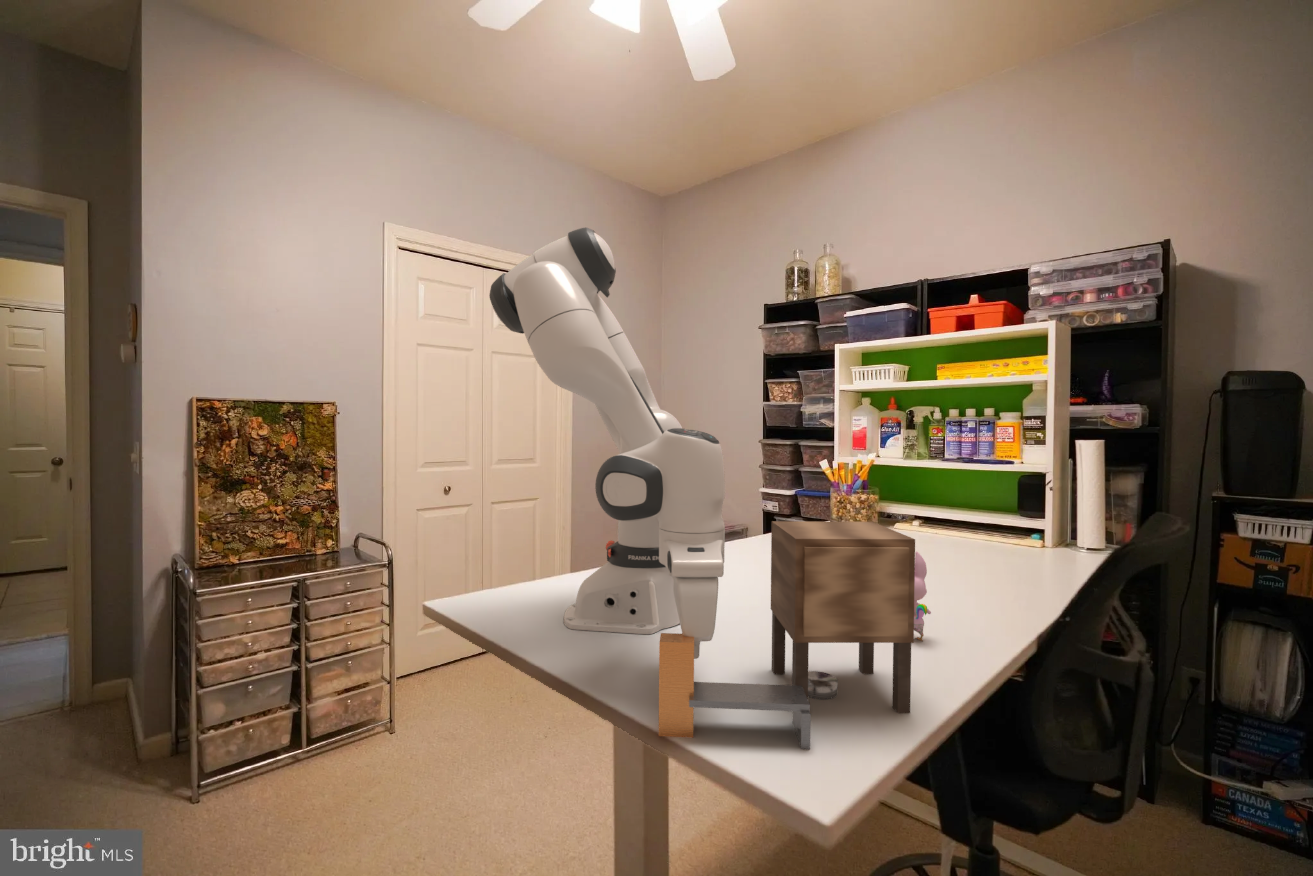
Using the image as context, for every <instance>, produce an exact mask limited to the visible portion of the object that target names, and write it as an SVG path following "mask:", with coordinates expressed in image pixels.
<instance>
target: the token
mask: <svg viewBox="0 0 1313 876" xmlns="http://www.w3.org/2000/svg"><path fill="white" fill-rule="evenodd" d="M838 680H839V679H837V677H836V676H834V675H832V674H830V673H827V672H823V671H818V670H817V671H816V670H815V671H814V670H813V671H812V670H811V671H810V670H808V698H810V699H814V700H823V701H824V700H833V699H835V698H836V697H837V696H838Z"/></svg>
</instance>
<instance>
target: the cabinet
mask: <svg viewBox="0 0 1313 876" xmlns="http://www.w3.org/2000/svg"><path fill="white" fill-rule="evenodd" d="M770 538H771V541H770V542H771V543H770V544H771V547H770V548H771V552H770V555H771V556H770V610H771V672H772V673H773V674H774V675H785V674H786V633H787V634H788V635H789V637H790V638H791V640H792V651H791V652H792V660H791V665H792V667H791V668H792V671H791V676H792V677H791V678H792V679H791V685H796V686H802V687H803V689H804V692H805V694H806V697H807V699H808V700H809V697H808V672H809V649H810V648H809V647H810V646H809V644H811V643H812V644H813V643H814V644H817V643H818V644H819V643H820V644H822V643H823V644H824V643H825V644H827V643H828V644H829V643H830V644H831V643H833V644H845V643H846V644H849V643H850V644H851V643H852V644H853V643H854V644H855V643H857V644H858V671H860V673H861V674H862V675H874V665H875V663H874V662H875V661H874V660H875V643H876V644H881V643H883V644H889V643H891V644H892V649H893V651H892V700H891V702H892V704H891V705H892V709H893V710H894V711H895V712H896V713H897V714H911V692H912V691H911V688H912V686H911V684H912V683H911V681H912V679H911V678H912V675H911V674H912V673H911V672H912V643H914V642H915V641H914V639H915V638H914V637H915V636H914V635H915V634H914V633H915V631H914V586H915V554H916V539H915V538H913V537H911V536H908V535H905V534H903V533H900V532H898V531H896V530H893V529H891V528H889V527H886V526H884V525H882V524H879V523H877V522H874V521H794V520H793V521H789V520H787V521H784V520H783V521H779V520H777V521H773V520H772V521H771V537H770Z"/></svg>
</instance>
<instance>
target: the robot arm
mask: <svg viewBox="0 0 1313 876" xmlns="http://www.w3.org/2000/svg"><path fill="white" fill-rule="evenodd" d="M533 252H534V253H532V254H531V255H529V256H528V257H526V258H525V259H524V260H522V261H520V262H519V263H517V264H516V265H515V266H513V267H512V268H511V269H510V270H508V272H506V273H501V274H500V275H499V276H498V277H497V278H496V279H495V280H494V281H493V282H492V284H491V286H490V290H489V300H490V303H491V305H492V306H491V307H492V309H493V312H494V313H495V315H496V317H497V318H498V319H499V321H501V323H502V324H503V325H504V326H505V327H506V328H507V329H508V330H509V331H511V332H514V333H517V334H524V336H525V338H526V341H527V343H528V346H529V348H530V350H531V352H532V355H533V356H534V358H535V361H536V362H537V365H538V366H539V367H540V369H541V370H542V372H543V373H544V374H545V376H547V378H548V380H549V381H551V382H552V383H553V384H554V385H557V386H558V387H560V388H561V389H564V390H567V391H568V392H571V393H573V394H574V395H578V396H580V397H582V398H584V399H586V400H588V401H589V402H591V403H592V404H594V406H595V408H596V409H597V411H598V413H599V415H600V418H601V420H602V421H603V424H604V425H605V427H606V429H607V432H608V433H609V436H610V437H611V439H612V441H613V443H614V445H615V447H616V449H617V451H618V453H619V454H615V455H613V456H611V457H610V458H607V459H606V460H605V461H604V462H603V463H602V464H601V466H600V467H599V469H598V472H597V473H596V478H595V488H594V489H595V496H596V498H597V501H598V504H599V505H600V507H601V509H602V510H603V511H604V513H605V514H606V515H607V516H609V517H610V518H612V519H614V520H617V524H618V525H617V527H618V528H617V541H615V540H613V539H612V540H611V539H610V540H608V541H607V543H606V544H605V549H606V561H607V562H606V563H604V564H603V565H602V566H600V568H598V569H597V570H595V571H594V572H593V573H591V574H590V575H589V576H588V577H587V578H585V579H584V580H583V581H582V583H581V584H580V587H579V589H578V590H577V596H576V599H575V603H574V604H571V605H570V606H569V607H568V608H567V609H566V610H565V612H564V614H563V615H564V616H563V624H564V626H565V627H566V628H568V629H569V630H575V631H576V630H578V631H591V632H607V633H618V634H619V633H622V634H635V635H636V634H639V635H652V634H653V635H654V634H655V633H657V632H659V631H661V630H664V629H668V628H672V627H675V626H678V625H680V630H681V634H683V635H684V636H687V637H694V660H697V659H699V658H700V647H701V642H711V641H712V640H713V638H714V634H715V631H716V630H715V629H716V620H717V611H718V610H717V609H718V600H719V598H718V597H719V596H718V595H719V578H722V577H724V569H725V568H724V567H725V565H724V564H725V547H726V546H725V541H726V540H725V538H726V537H725V536H726V535H725V534H726V533H725V531H726V530H725V529H726V528H725V527H726V526H725V520H724V518H723V506H724V501H725V497H726V478H725V477H726V474H725V473H726V472H725V461H724V459H725V458H724V453H723V448H722V445H721V442H720V441H719V439H718V438H717V437H715V436H714V435H712V434H710V433H707V432H706V431H705V432H704V431H700V430H696V429H695V430H694V429H685V428H683V427H682V425H681V423H680V421H679V420H678V419H677V418H676V416H674V415H673V414H672V413H670V412H668V411H666V410H664V409H661V407H660V406H659V403H658V401H657V399H656V396H655V393H654V392H653V389H652V387H651V384H650V381H649V380H648V376H647V373H646V370H645V367H644V366H643V364H642V363H641V361H640V359H639V357H638V355H637V354H636V351H635V350H634V348H633V346H632V344H631V342H630V340H629V339H628V337H627V335H626V332H625V331H624V330H623V328H622V325H621V324H620V322H619V321H618V319H617V318H616V316H615V314H614V313H613V312H612V310H611V309H610V307H609V306H608V305H607V303H606V302H605V301H604V299H603V298H602V297H601V296H600V295H599V293H600V292H601V293H602V294H603V295H604V296H605V298H609V297H610V295H611V293H610V291H609V290H610V288H611V287H612V285H613V284H614V281H615V278H616V273H617V270H616V267H615V265H616V264H615V263H616V262H615V257H614V255H613V251H612V249H611V247H610V245H609V244H608V243H607V242H606V240H605V239H604V238H603V237H602V236H600V235H599V234H597V233H596V231H595V230H593V229H591V228H589V227H581V228H578V229H573V230H572V231H569V232H568V233H567V235H566V236H563V237H561V238H559V239H556V240H554V241H552V242H550V243H547V244H546V245H544V246H541V248H539V249H537V250H535V251H533Z"/></svg>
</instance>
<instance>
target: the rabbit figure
mask: <svg viewBox="0 0 1313 876" xmlns="http://www.w3.org/2000/svg"><path fill="white" fill-rule="evenodd" d="M927 572H928V569H927V564H926V561H925V559H924V557H923V556H922V555H921V553H920V552H918V551H915V586H914V632H916V633H918V634H919V635H920V637H919V636H917V637H916V638H914V639H915V640H916V639H917V640H918V641H921V642H923V637H924V636H925V635H924V626H925V621H924V617H925V616H926V615H931V614H932V612H931V610H929V608H928V607H927V605H926V604H924V603H919V602H918V601H920V600H923V598H924V597H926V595H927V593H928V590H927V585H926V582H925V579H926V576H927Z"/></svg>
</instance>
